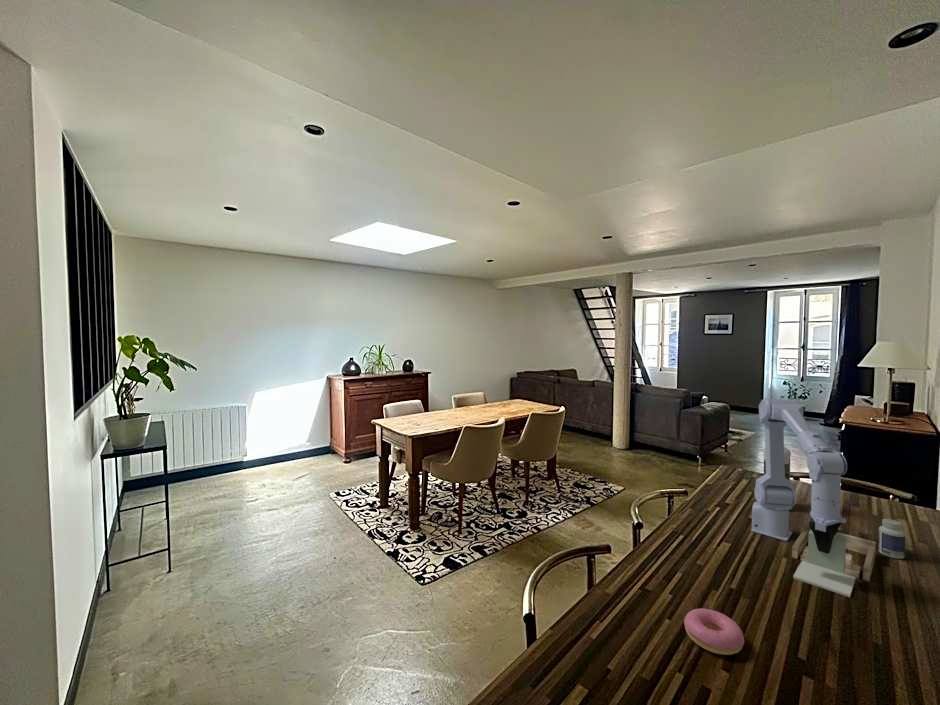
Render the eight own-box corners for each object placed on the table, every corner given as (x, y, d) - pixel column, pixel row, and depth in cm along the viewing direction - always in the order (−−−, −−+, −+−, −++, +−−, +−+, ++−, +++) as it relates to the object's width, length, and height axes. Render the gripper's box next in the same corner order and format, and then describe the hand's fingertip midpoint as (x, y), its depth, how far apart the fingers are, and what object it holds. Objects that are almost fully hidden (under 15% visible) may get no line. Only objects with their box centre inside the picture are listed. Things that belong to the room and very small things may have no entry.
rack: (791, 557, 118) (792, 543, 118) (804, 536, 130) (805, 523, 130) (869, 581, 106) (869, 566, 106) (875, 555, 118) (875, 542, 118)
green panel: (808, 562, 108) (808, 532, 108) (810, 558, 110) (810, 529, 110) (843, 573, 103) (844, 542, 103) (845, 569, 105) (845, 538, 105)
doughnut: (676, 639, 86) (676, 620, 86) (693, 614, 94) (693, 597, 94) (736, 669, 78) (736, 647, 78) (750, 639, 86) (750, 620, 86)
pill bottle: (910, 560, 116) (911, 526, 116) (887, 558, 117) (888, 524, 117) (894, 550, 121) (895, 518, 121) (873, 549, 122) (874, 516, 122)
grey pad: (793, 578, 108) (793, 575, 108) (801, 562, 115) (801, 560, 115) (850, 597, 99) (850, 595, 99) (855, 579, 107) (855, 577, 107)
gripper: (842, 510, 99) (841, 566, 99) (850, 495, 108) (849, 545, 109) (805, 502, 104) (804, 554, 104) (815, 488, 114) (814, 536, 114)
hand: (824, 549), depth 107 cm, fingers closed on green panel, 3 cm apart
